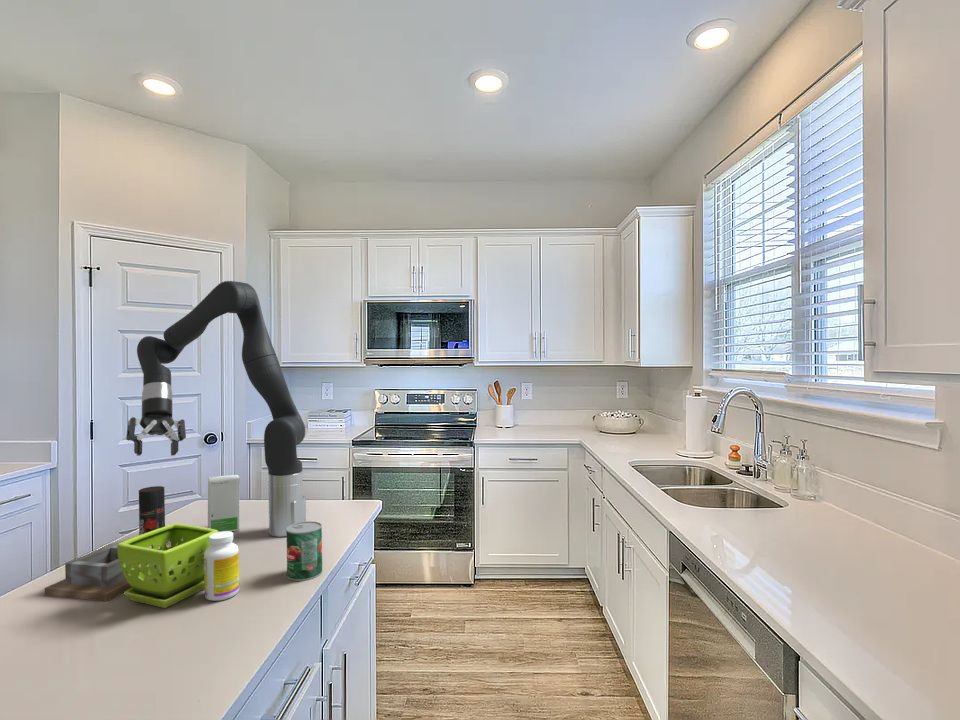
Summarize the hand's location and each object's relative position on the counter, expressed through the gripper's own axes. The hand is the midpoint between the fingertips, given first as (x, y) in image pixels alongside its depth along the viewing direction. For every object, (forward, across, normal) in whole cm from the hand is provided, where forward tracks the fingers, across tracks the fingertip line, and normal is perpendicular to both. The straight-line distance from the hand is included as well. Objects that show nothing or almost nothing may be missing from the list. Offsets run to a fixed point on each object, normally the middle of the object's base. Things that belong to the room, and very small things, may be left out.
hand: (156, 454), depth 143 cm
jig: (+32, -10, -10) cm, 35 cm away
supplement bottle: (+42, +1, -36) cm, 55 cm away
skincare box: (+22, +18, +2) cm, 29 cm away
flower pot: (+39, -6, -28) cm, 48 cm away
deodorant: (+23, +1, +6) cm, 24 cm away
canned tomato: (+41, +18, -40) cm, 60 cm away
